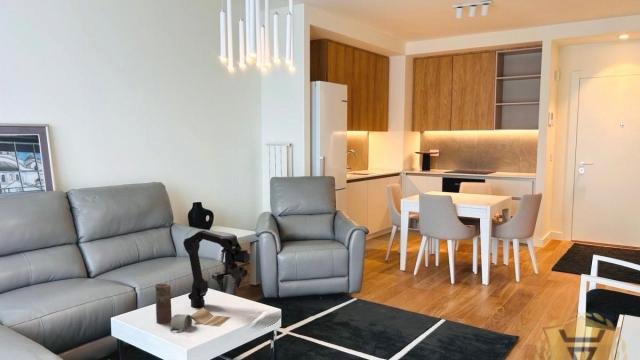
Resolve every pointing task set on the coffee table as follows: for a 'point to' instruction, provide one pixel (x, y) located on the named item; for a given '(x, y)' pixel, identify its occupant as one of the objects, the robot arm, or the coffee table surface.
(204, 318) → the plank
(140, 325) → the coffee table surface
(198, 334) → the coffee table surface
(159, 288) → the candle
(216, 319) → the floor board
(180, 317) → the ceramic mug
